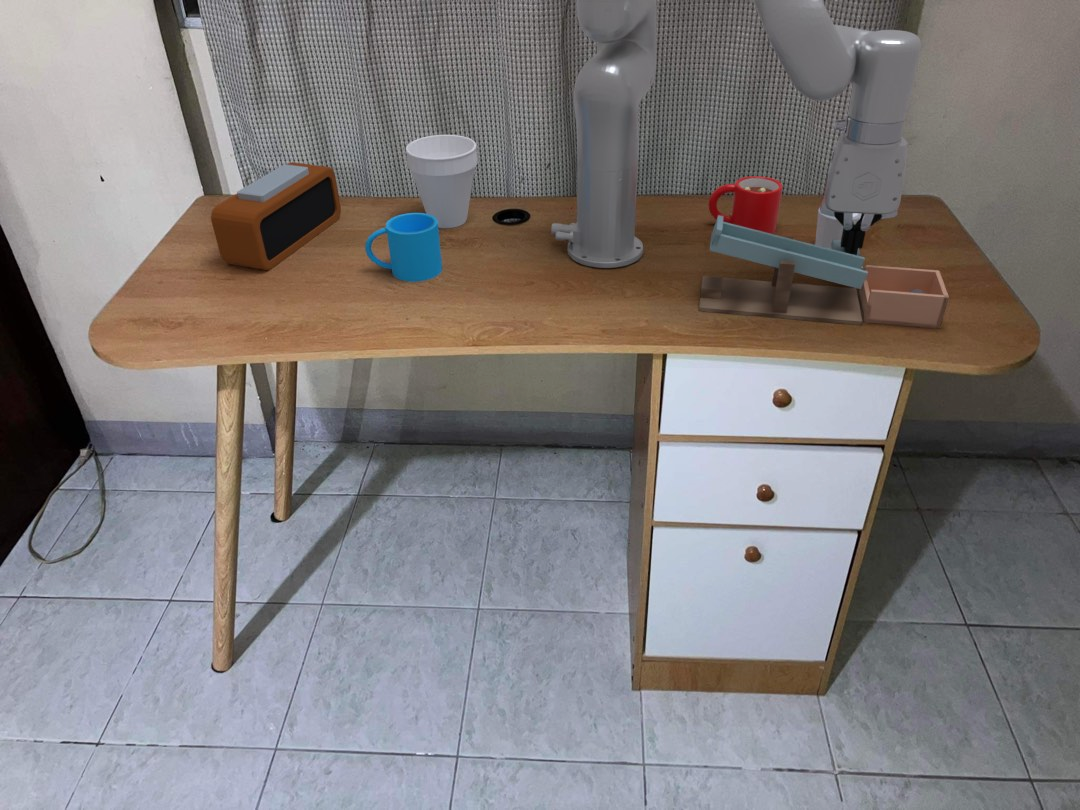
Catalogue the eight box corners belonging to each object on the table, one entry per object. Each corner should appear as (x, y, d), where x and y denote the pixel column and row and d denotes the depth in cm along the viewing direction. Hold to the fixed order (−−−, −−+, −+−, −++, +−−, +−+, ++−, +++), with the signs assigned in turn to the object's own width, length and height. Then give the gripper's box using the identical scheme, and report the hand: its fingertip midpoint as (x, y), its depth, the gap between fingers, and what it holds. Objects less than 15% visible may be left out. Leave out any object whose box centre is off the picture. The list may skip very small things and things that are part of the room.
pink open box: (863, 322, 119) (871, 291, 116) (858, 294, 126) (865, 265, 123) (939, 328, 117) (949, 297, 114) (930, 300, 124) (939, 270, 121)
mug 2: (705, 216, 150) (710, 174, 145) (774, 219, 148) (780, 176, 144) (706, 235, 144) (711, 191, 139) (777, 238, 142) (784, 194, 137)
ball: (905, 296, 118) (928, 294, 117) (902, 287, 121) (925, 284, 120) (905, 315, 120) (928, 312, 119) (903, 305, 122) (925, 302, 121)
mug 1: (443, 257, 139) (439, 211, 134) (441, 281, 132) (436, 233, 127) (372, 260, 138) (364, 214, 134) (365, 283, 132) (357, 236, 127)
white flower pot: (444, 201, 158) (437, 129, 149) (495, 216, 152) (491, 142, 144) (399, 224, 150) (390, 149, 142) (451, 240, 144) (444, 163, 136)
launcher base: (698, 310, 123) (704, 259, 118) (702, 279, 130) (707, 229, 125) (861, 325, 118) (874, 272, 114) (855, 291, 126) (867, 240, 121)
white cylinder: (855, 261, 134) (865, 221, 130) (811, 258, 136) (819, 218, 132) (851, 243, 140) (860, 203, 136) (809, 240, 141) (817, 201, 137)
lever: (709, 252, 119) (716, 230, 117) (713, 215, 129) (720, 194, 127) (864, 292, 118) (874, 270, 115) (855, 251, 128) (865, 231, 126)
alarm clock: (265, 275, 135) (249, 209, 128) (222, 267, 138) (205, 202, 131) (343, 217, 153) (333, 157, 146) (304, 211, 156) (292, 152, 149)
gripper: (818, 136, 113) (799, 259, 123) (936, 140, 110) (906, 265, 120) (816, 119, 118) (797, 238, 129) (927, 122, 116) (899, 243, 126)
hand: (850, 251), depth 125 cm, fingers closed
